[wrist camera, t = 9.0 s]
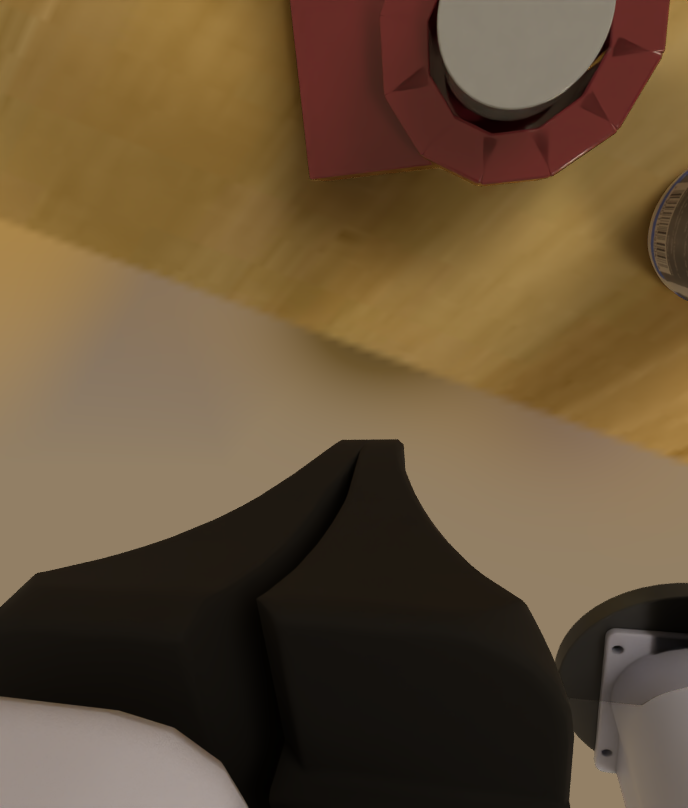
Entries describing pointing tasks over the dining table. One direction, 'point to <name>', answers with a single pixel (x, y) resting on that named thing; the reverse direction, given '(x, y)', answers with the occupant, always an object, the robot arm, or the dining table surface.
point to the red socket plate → (449, 95)
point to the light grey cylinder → (518, 51)
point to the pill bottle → (671, 237)
